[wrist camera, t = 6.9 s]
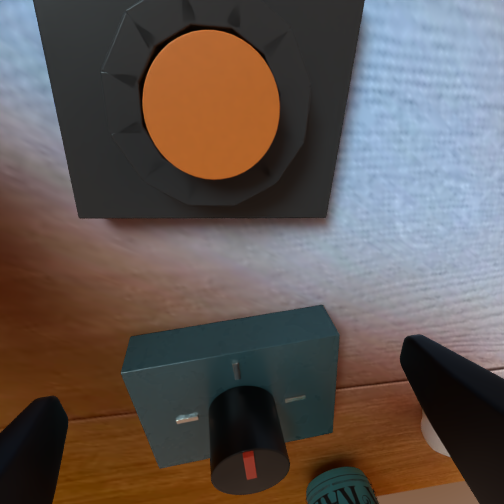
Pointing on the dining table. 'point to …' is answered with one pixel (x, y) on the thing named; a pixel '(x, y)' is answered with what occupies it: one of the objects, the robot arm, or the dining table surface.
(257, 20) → the button base
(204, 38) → the button
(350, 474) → the beverage bottle
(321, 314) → the dial console
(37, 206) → the dining table surface
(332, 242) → the dining table surface
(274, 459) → the dial
